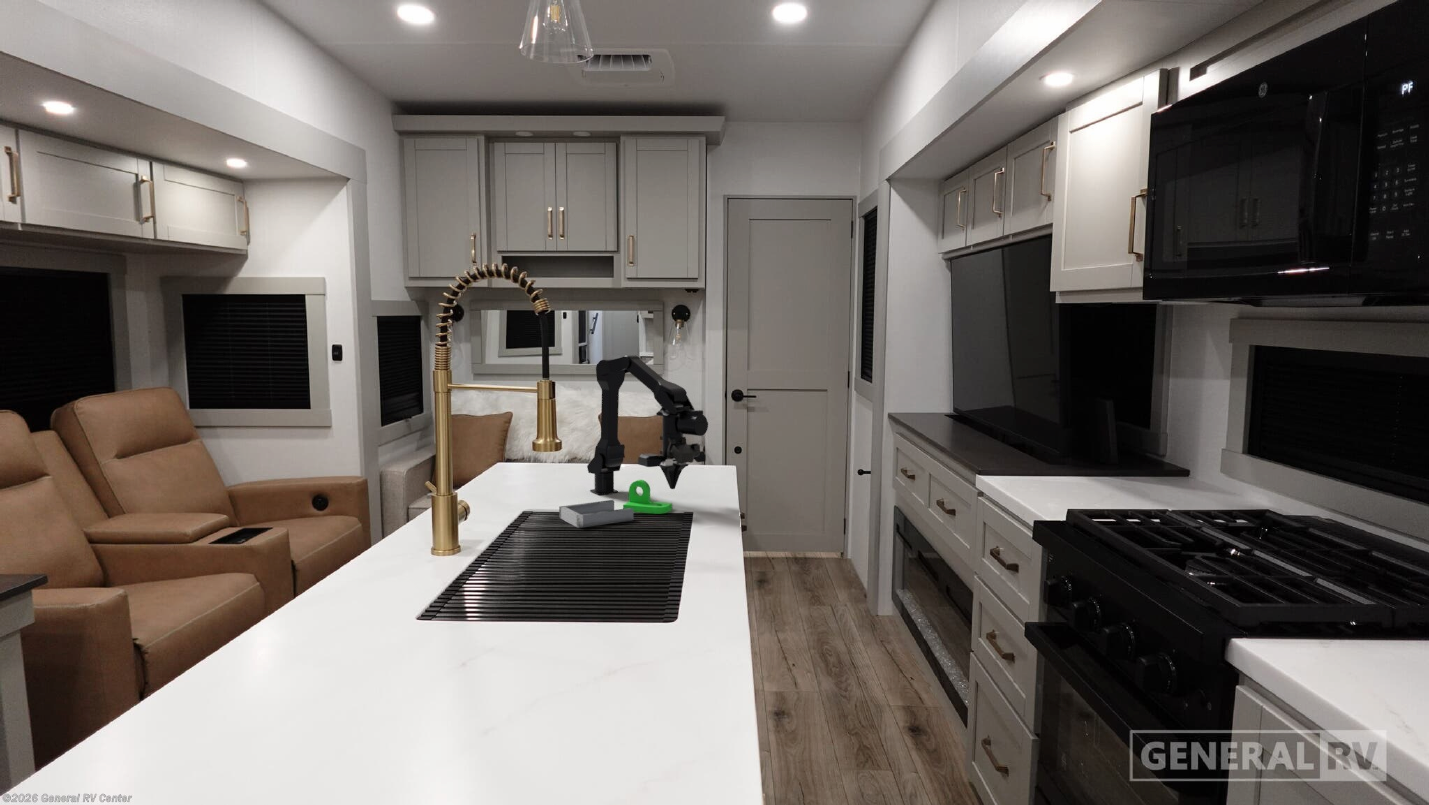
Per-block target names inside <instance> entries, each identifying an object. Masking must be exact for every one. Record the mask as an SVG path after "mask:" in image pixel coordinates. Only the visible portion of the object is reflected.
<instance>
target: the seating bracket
mask: <svg viewBox="0 0 1429 805" xmlns="http://www.w3.org/2000/svg"><path fill="white" fill-rule="evenodd" d="M558 508H559V510H558V511H559V512H558V516H559V517H558V518H559V519H560V520H563V521H565V522H566V523H568V524H570V525H572V526H574V527H576V528H578V529H582V528H589V527H594V526H595V527H596V526H601V525H602V526H603V525H609V524H615V523H624V522H629V521H630V522H631V521H634V512H633V508H626V509H623V508H621V509H615V500H613V499H610V500H608V499H607V500H602V501H595V502H585V503H578V504H570V505H561V506H559V507H558Z"/></svg>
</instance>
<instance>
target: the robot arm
mask: <svg viewBox="0 0 1429 805" xmlns="http://www.w3.org/2000/svg"><path fill="white" fill-rule="evenodd" d="M595 373H596V382H597V383H598V385H599V387H600V389H601V407H600V408H601V413H600V414H601V416H600V418H601V419H600V420H601V421H600V439H599V440H598V442H597V444H596V446H595V448H594V455H593V457H592V459H591V460H590V462H589V463H588V464H587V466H586V468H587V471H588V473H589V474H594V488H593V489H592V488H591V489H590V490H589V491H590V493H594V494H596V495H598V496H600V495H608V494H618V493H619V490H617V489H615V486H614V485H615V483H614V482H615V477H614V476H615V474H614V473H615V472H619V471H620V470H621V468H622V467H621V466H622V464H623V462H624V458H626V456H625V444H621V441H620V439H619V436H618V435H619V404H620V403H619V398H620V397H619V394H620V393H619V392H620V389H621V387H622V385H623V383H624V381H625V378H626V377H625V376H626V374H628V373H630V374H631V375H632V376H633V377H635V378H636V379H637V380H638V381H639V382H640V383H642V384H643V385H644V386H645V387H646V388H648V390H650V391H651V392H652V393H653V398H654V400H655V401H656V402H657V403H658V404H659V406H660V407H661V408H660V410H657V411H656V413H655V414H656V416H657V417H658V416H659V417H662V418H661V419H662V423H661V424H662V425H661V426H662V427H661V428H662V430H661V431H662V434H661V435H659V440H660V441H661V440H662V441H661V443H662V445H661V446H662V447H661V450H659V454H656V453H655V454H654V453H651V452H649V453H641V454H639V456H638V458H637V464H638V465H639V466H643V467H646V468H654V467H660V469H661V472H662V473H663V474H664V477H665V480H666V482H667V484H668V486H669V489H670V490H675V489H676V486H677V484H678V481H679V477H680V476H681V474H682V471H683V470H684V468H686V467H688V466H689V463H690V464H691V463H694V461H695V462H696V463H703V462H707V454H706V452H705V451H704V450H701V445H700V444H699V443H691V444H688V443H687V438H686V436H684V435H688V436H696V437H703V436H705V435H706V433H707V431H708V428H709V422H708V420H707V417H706V416H705V415H704V411H703V410H702V409H697V410H695V408H694V406H693V404H692V402H691V401H690V399H689V396H688V394H687V391H686V389H685V388H684V387H682V386H680V385H678V384H676V383H674V382H671V381H668V380H666V379H664V377H662V376H661V375H659V374H658V373H657V372H656V371H655V370H654V369H652V368H651V367H650V366H649V365H647V364H646V362H644V361H643V360H641V358H640V357H639V356H638V355H624V356H621V357H617V358H614V359H601V360H600V361H598V363H596V366H595Z"/></svg>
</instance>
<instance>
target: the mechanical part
mask: <svg viewBox="0 0 1429 805" xmlns="http://www.w3.org/2000/svg"><path fill="white" fill-rule="evenodd" d="M638 487H639V488H640V489H641V490H642V494H639V493H638V491H637V488H638ZM628 488H629V489H628V502H626V503H624V504H622V509H626V508H633V513H644V514H652V515H653V514H654V515H657V514H658V515H660V514H666V513H669V512H670V511H671V510H673V503H671V502H657V501H653V500H652V499H651V487H650V485H649V483H648V482H647V481H646V480H643V479H638V480H636V481H633V482H632V483H631V484H630V485H629V487H628Z"/></svg>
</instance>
